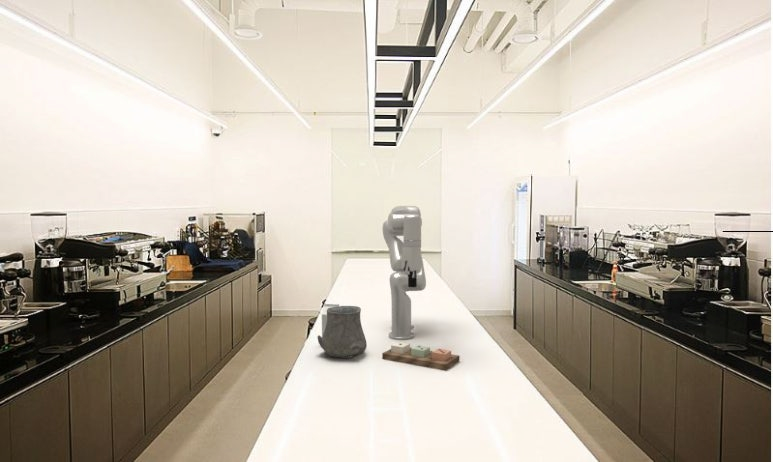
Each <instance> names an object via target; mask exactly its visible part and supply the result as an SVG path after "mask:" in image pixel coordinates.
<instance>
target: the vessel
mask: <svg viewBox="0 0 773 462" xmlns="http://www.w3.org/2000/svg"><path fill="white" fill-rule="evenodd" d="M361 311H362V308H361V307H360V306H357V305H339V306H337V307H331V308H328V309H327V323H326V327H325V331H324V334H323V336H322V335H319V334H318V335H317V341H318V344H319V346H320V347H321V349H322V350H323V351H324V352H325V353H326V354H327V355H330V356H331V357H335V358H339V359H341V358H342V359H344V358H353V357H357V356H358V357H359V356H360V355H362V354H363V353H364V352H365V351H366V350H367V346H368V345H367V340H366V335H365V333H364V329H363V326H362V322H361V321H362V320H361Z"/></svg>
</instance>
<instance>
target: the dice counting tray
mask: <svg viewBox="0 0 773 462" xmlns="http://www.w3.org/2000/svg"><path fill="white" fill-rule="evenodd" d="M411 348H412V347H410V351H409V352H407V353H405V354H399V353H393V352H391V348H390V349H388V350H386V351H384V352H382V354H381V355H382V357H381V359H382V360H386V361H392V362H395V363H403V364H406V365H407V364H408V365H412V366H413V365H414V366H418V367H423V368H429V369H435V370H439V371H444V372H447V371H449V370H450V369H452V368H453V367H454V366H455V365H457V364H458V363H460V362H461V361H460V355H458V354H452V353H451V359H449V360H448V361H446V362H444V361H439V360H433V359H432V352H433V351H434V350H430V355H429V356H427V357H425V358H422V357H416V356H411Z"/></svg>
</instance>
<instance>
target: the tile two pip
mask: <svg viewBox="0 0 773 462" xmlns="http://www.w3.org/2000/svg"><path fill="white" fill-rule="evenodd" d="M410 348H411V356H416V357H422V358H425V357H427V356H429V355H430V351H431V347H430V346H425V345H419V344H417V345H415V346H414V347H410Z"/></svg>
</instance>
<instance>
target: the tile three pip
mask: <svg viewBox="0 0 773 462" xmlns="http://www.w3.org/2000/svg"><path fill="white" fill-rule="evenodd" d="M432 351H433V352H432V359H433V360H439V361H444V362H446V361H448V360H449V359H451V354H452V350H450V349H443V348H437V349H435V350H432Z"/></svg>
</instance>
